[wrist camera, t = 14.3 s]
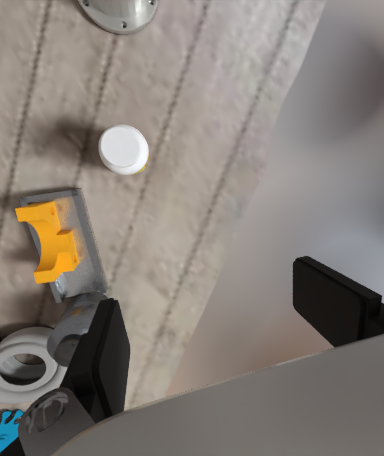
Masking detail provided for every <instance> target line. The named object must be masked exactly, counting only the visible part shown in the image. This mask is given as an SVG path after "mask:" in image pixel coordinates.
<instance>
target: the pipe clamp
mask: <svg viewBox="0 0 384 456" xmlns="http://www.w3.org/2000/svg"><path fill="white" fill-rule="evenodd" d="M15 210H16V214H17V217H18V221H19V222H21V221H26V222H28V223H30V224H31V225H32V226H33V227H34V228H35V230H36V231H37V233H38V236H39V238H40V242H41V260H40V263H39V266H38V268H37V269H36V271H35V272H34V276H35V279H36V282H37V284H38V283H46V282H53V281H55V280H56V279H57V278H58V277H59V276H60V275H61V273H62V272H67V271H74V269H75V268H76V267H77V266H78V264H79V259H78V255H77V250H76V246H75V242H74V237H73V233H72V231H61V227H60V223H59V219H58V215H57V210H56V206H55V202H54V201H48V202H37V203H34V204H30V205H26V206H22V207H19V208H15Z"/></svg>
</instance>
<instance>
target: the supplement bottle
mask: <svg viewBox="0 0 384 456" xmlns="http://www.w3.org/2000/svg"><path fill="white" fill-rule="evenodd" d="M99 154H100V157H101V159H102V161H103V163H104V164H105V165H106V166H107V167H108V168H109V169H110V170H111V171H113V172H115V173H118V174H121V175H134V174H138V173H140V172H141V171H143V170H144V169H145V167H146V166H147V164H148V161H149V151H148V145H147V142H146V140H145V138H144V136H143V135H142V134H141V133H140V132H139V131H138V130H137V129H135V128H134V127H132V126H129V125H125V124H117V125H113V126H111V127H109V128H108V129H106V130H105V131H104V132H103V134H102V135H101V137H100V140H99Z"/></svg>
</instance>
